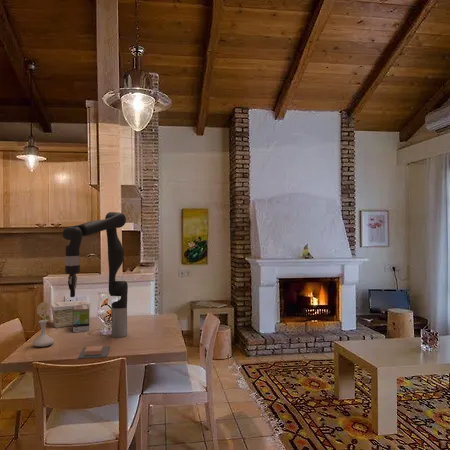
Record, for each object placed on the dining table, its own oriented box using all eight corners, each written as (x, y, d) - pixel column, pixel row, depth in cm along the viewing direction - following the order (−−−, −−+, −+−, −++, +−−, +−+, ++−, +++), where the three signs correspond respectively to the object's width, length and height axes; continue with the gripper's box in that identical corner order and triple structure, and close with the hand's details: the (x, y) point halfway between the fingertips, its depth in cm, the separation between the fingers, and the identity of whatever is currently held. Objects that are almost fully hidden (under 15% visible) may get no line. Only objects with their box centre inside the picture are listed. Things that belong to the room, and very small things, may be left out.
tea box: (89, 331, 263) (89, 308, 263) (73, 333, 259) (72, 309, 259) (88, 326, 277) (88, 304, 277) (72, 327, 273) (72, 305, 273)
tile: (87, 346, 218) (84, 351, 210) (102, 345, 219) (100, 350, 211) (87, 351, 218) (84, 356, 210) (102, 350, 219) (100, 355, 211)
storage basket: (52, 328, 270) (52, 306, 270) (50, 323, 284) (50, 302, 285) (90, 324, 281) (90, 303, 281) (86, 320, 296) (86, 299, 296)
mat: (83, 348, 225) (83, 347, 225) (110, 347, 228) (110, 346, 228) (77, 358, 207) (77, 357, 207) (106, 357, 210) (106, 356, 210)
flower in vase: (29, 345, 232) (28, 301, 232) (49, 341, 240) (49, 298, 240) (37, 350, 223) (37, 303, 223) (58, 346, 231) (58, 301, 231)
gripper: (67, 263, 226) (67, 295, 226) (62, 265, 213) (62, 299, 213) (81, 263, 228) (82, 294, 228) (77, 265, 215) (77, 298, 215)
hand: (72, 296), depth 220 cm, fingers closed
